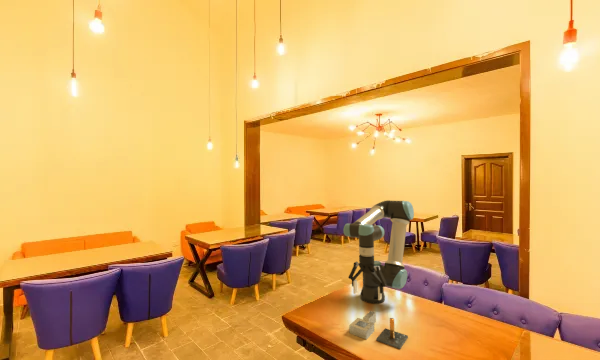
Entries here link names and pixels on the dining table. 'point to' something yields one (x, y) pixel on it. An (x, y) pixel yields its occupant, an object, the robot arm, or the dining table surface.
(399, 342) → the peg on square plate
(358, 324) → the square loop with stem
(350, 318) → the dining table surface
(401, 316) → the dining table surface
